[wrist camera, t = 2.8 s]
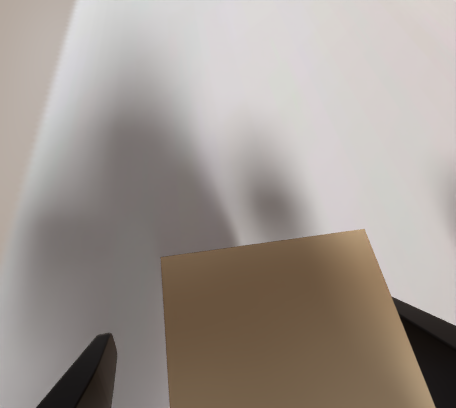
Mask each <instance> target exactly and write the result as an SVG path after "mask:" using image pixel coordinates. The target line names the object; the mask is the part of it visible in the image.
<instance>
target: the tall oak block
mask: <svg viewBox="0 0 456 408" xmlns="http://www.w3.org/2000/svg"><path fill="white" fill-rule="evenodd" d="M161 271H162V288H163V304H164V320H165V336H166V353H167V369H168V385H169V402H170V408H436V407H435V405H434V402H433V400H432V397H431V395H430V392H429V390H428V387H427V385H426V382H425V380H424V377H423V375H422V372H421V370H420V367H419V365H418V362H417V360H416V357H415V355H414V352H413V350H412V347H411V345H410V342H409V340H408V337H407V335H406V332H405V330H404V327H403V325H402V322H401V320H400V317H399V315H398V312H397V310H396V307H395V304H394V302H393V299H392V297H391V294H390V292H389V289H388V287H387V284H386V282H385V279H384V277H383V274H382V272H381V269H380V267H379V264H378V262H377V259H376V257H375V254H374V252H373V249H372V247H371V244H370V242H369V239H368V237H367V234H366V232H365V229H361V230H354V231H346V232H339V233H332V234H325V235H317V236H310V237H303V238H296V239H288V240H281V241H274V242H267V243H260V244H252V245H245V246H238V247H231V248H223V249H216V250H209V251H202V252H194V253H187V254H180V255H173V256H166V257H161Z"/></svg>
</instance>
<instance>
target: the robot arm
mask: <svg viewBox="0 0 456 408" xmlns="http://www.w3.org/2000/svg"><path fill="white" fill-rule="evenodd" d="M392 299H393V302H394V304H395V307H396V310H397V312H398V315H399V317H400V320H401V322H402V325H403V327H404V330H405V332H406V335H407V337H408V340H409V342H410V345H411V347H412V350H413V352H414V355H415V357H416V360H417V362H418V365H419V367H420V370H421V372H422V375H423V377H424V380H425V382H426V385H427V387H428V390H429V392H430V395H431V397H432V400H433V402H434V405H435V407H436V408H456V326H455V325H453V324H451V323H448V322H446V321H444V320H442V319H440V318H437V317H435V316H433V315H431V314H429V313H426V312H424V311H422V310H420V309H418V308H416V307H413V306H411V305H409V304H407V303H405V302H402V301H400V300H398V299H396V298H394V297H392ZM116 363H117V349H116V345H115V342H114V338H113V335H112V333H105V334H100V335H98V336H96V338H95V339H94V340H93V341H92V342H91V343H90V345H89V346H88V347H87V348H86V349H85V350H84V352H83V353H82V354H81V355H80V356H79V358H78V359H77V360H76V361H75V362H74V363H73V365H72V366H71V367H70V368H69V369H68V371H67V372H66V373H65V374H64V375H63V376H62V378H61V379H60V380H59V381H58V382H57V384H56V385H55V386H54V387H53V388H52V389H51V391H50V392H49V393H48V394H47V395H46V397H45V398H44V399H43V400H42V401H41V402H40V404H39V405H38V406H37V407H36V408H111V405H112V397H113V389H114V380H115V372H116Z"/></svg>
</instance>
